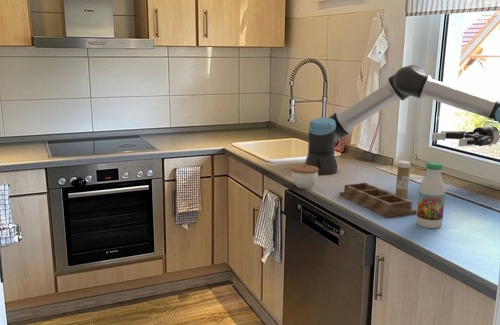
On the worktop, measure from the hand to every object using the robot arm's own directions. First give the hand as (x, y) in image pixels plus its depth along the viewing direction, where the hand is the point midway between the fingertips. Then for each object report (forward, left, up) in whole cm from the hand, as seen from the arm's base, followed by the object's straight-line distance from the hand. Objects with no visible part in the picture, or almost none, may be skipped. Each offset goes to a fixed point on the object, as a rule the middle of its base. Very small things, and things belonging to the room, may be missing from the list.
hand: (445, 139), depth 189 cm
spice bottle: (0, -19, -21) cm, 28 cm away
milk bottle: (+28, -32, -21) cm, 47 cm away
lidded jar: (-26, -46, -21) cm, 57 cm away
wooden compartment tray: (+4, -34, -20) cm, 40 cm away
